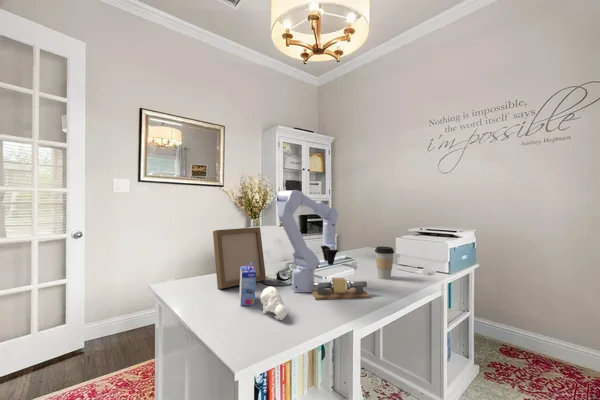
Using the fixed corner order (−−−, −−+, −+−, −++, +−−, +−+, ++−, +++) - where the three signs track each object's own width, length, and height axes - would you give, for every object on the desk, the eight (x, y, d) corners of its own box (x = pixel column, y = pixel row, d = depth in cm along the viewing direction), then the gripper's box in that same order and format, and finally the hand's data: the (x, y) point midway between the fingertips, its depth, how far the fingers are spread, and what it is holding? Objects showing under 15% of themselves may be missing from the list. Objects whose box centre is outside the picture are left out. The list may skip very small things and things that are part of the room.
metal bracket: (285, 262, 144) (306, 267, 134) (287, 272, 145) (308, 278, 135) (264, 275, 134) (286, 282, 124) (267, 286, 135) (288, 293, 125)
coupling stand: (315, 299, 106) (315, 284, 106) (311, 292, 115) (311, 278, 115) (370, 297, 109) (370, 283, 109) (361, 290, 118) (362, 276, 118)
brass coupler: (343, 290, 114) (343, 277, 114) (345, 293, 110) (345, 280, 110) (331, 291, 113) (331, 277, 113) (333, 294, 110) (334, 280, 110)
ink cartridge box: (256, 305, 100) (256, 265, 100) (240, 306, 99) (241, 266, 99) (253, 295, 110) (253, 259, 110) (239, 297, 108) (239, 260, 108)
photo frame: (266, 281, 129) (266, 228, 129) (221, 290, 115) (221, 231, 115) (250, 274, 140) (250, 225, 140) (208, 282, 126) (208, 228, 126)
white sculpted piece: (275, 283, 98) (293, 296, 88) (274, 306, 99) (292, 322, 89) (259, 286, 94) (276, 300, 85) (258, 310, 95) (275, 327, 85)
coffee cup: (396, 277, 139) (396, 247, 139) (391, 281, 131) (391, 250, 131) (377, 274, 144) (377, 245, 144) (371, 278, 136) (372, 248, 136)
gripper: (341, 235, 121) (341, 266, 121) (333, 231, 135) (333, 259, 135) (326, 235, 120) (325, 266, 120) (319, 231, 134) (319, 259, 134)
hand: (328, 262), depth 128 cm, fingers open, 7 cm apart
